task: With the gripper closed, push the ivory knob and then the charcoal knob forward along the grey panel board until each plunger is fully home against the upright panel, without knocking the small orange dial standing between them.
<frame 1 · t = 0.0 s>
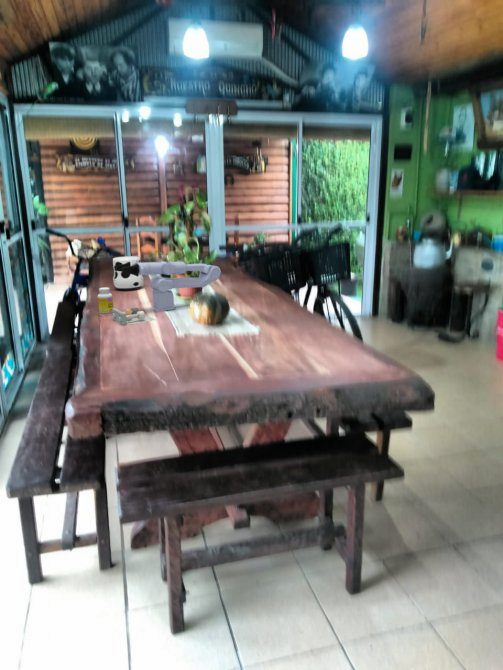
hand: (119, 269, 237), 22 cm above the table, tool horizontal, fingers open, 7 cm apart
ivory knob: (131, 316, 228), point 3 cm above the table, slide at 0.0 cm
milk container: (129, 289, 307), on the table
supplement bottle: (107, 315, 245), on the table
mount: (121, 322, 231), on the table
dial: (129, 320, 232), point 1 cm above the table, touching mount
charcoal knob: (125, 313, 235), point 3 cm above the table, slide at 0.0 cm
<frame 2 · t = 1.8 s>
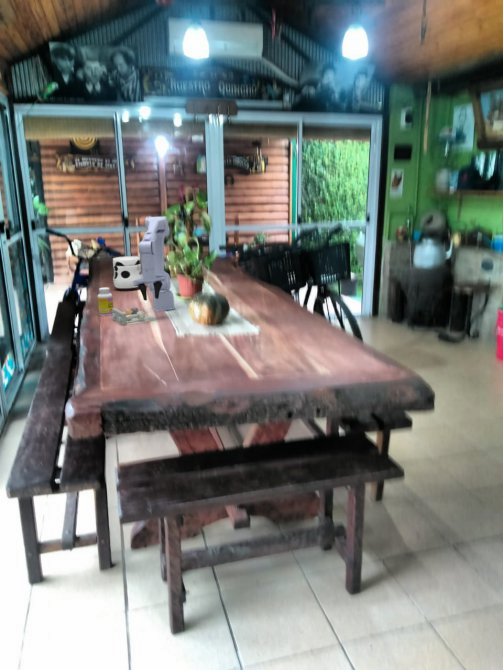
hand: (151, 299, 232), 9 cm above the table, tool pointing down, fingers open, 5 cm apart
nothing on the table moved.
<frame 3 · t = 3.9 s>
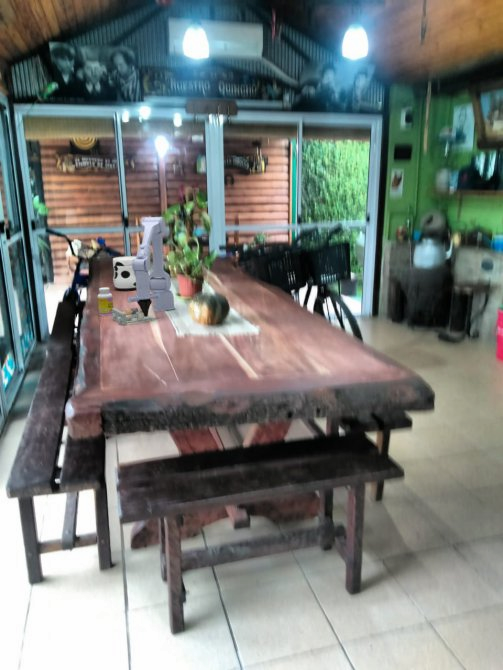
hand: (145, 316, 232), 2 cm above the table, tool pointing down, fingers closed
ivory knob: (130, 316, 228), point 3 cm above the table, slide at 0.5 cm, touching gripper
everything else where it was.
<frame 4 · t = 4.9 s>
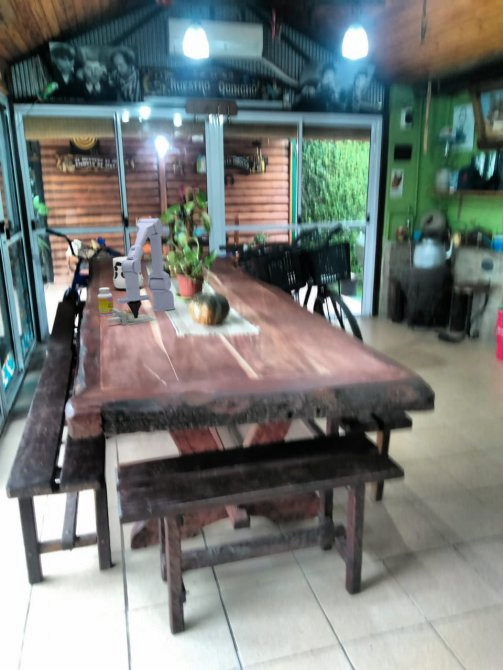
hand: (135, 317, 230), 2 cm above the table, tool pointing down, fingers closed
ivory knob: (120, 318, 226), point 3 cm above the table, slide at 5.1 cm, touching gripper
everything else where it was.
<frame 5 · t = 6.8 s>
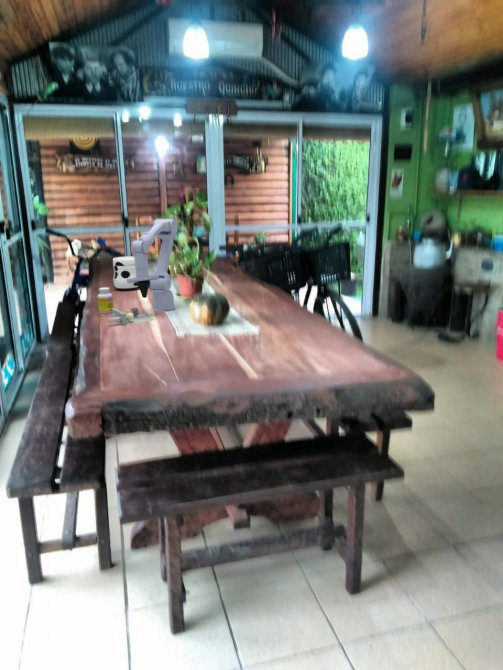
hand: (144, 297, 238), 9 cm above the table, tool pointing down, fingers closed
ivory knob: (120, 318, 226), point 3 cm above the table, slide at 5.0 cm
everything else where it was.
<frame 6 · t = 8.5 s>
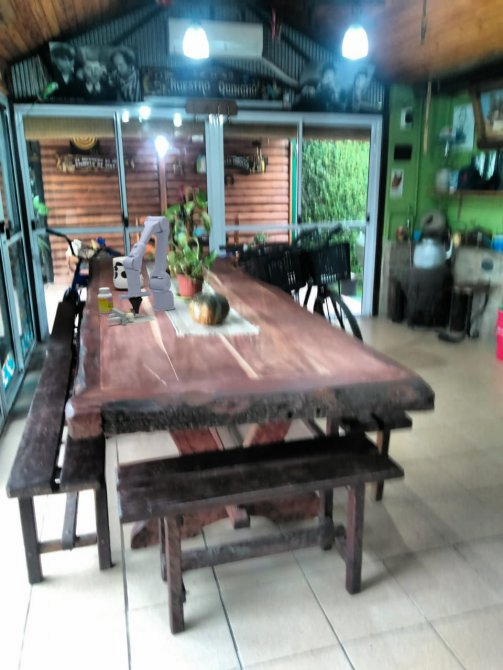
hand: (136, 313, 237), 2 cm above the table, tool pointing down, fingers closed
charcoal knob: (121, 314, 234), point 3 cm above the table, slide at 1.7 cm, touching gripper
everything else where it was.
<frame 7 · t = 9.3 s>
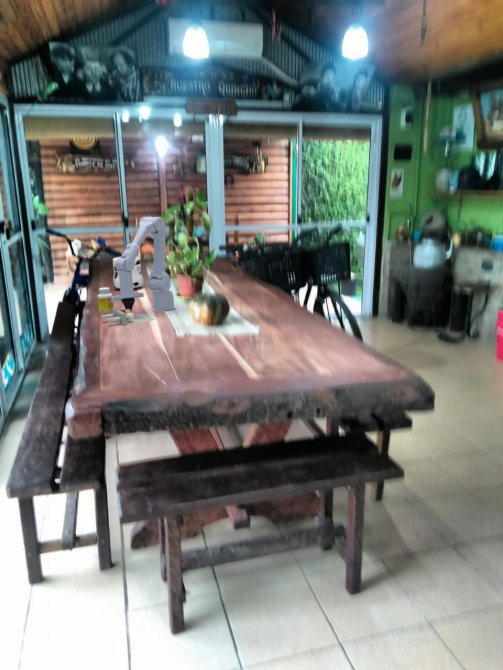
hand: (129, 314, 236), 2 cm above the table, tool pointing down, fingers closed
charcoal knob: (114, 315, 232), point 3 cm above the table, slide at 5.1 cm, touching gripper
everything else where it was.
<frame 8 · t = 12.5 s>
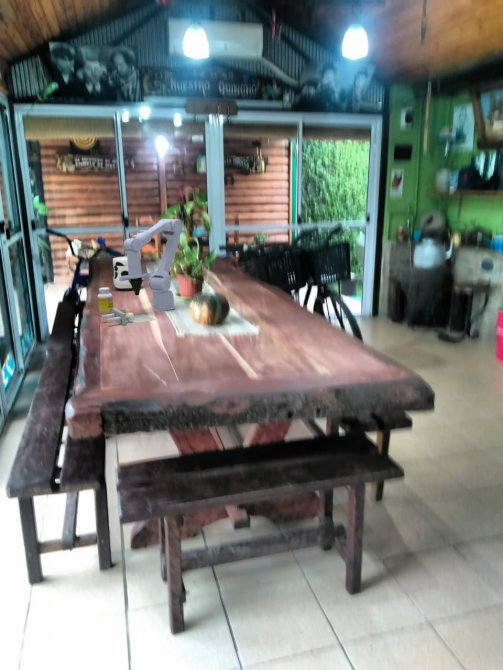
hand: (137, 294, 239), 10 cm above the table, tool pointing down, fingers closed
charcoal knob: (114, 315, 232), point 3 cm above the table, slide at 5.0 cm
everything else where it was.
at the end: ivory knob slide at 5.0 cm; charcoal knob slide at 5.0 cm; dial moved 0.0 cm from its start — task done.
